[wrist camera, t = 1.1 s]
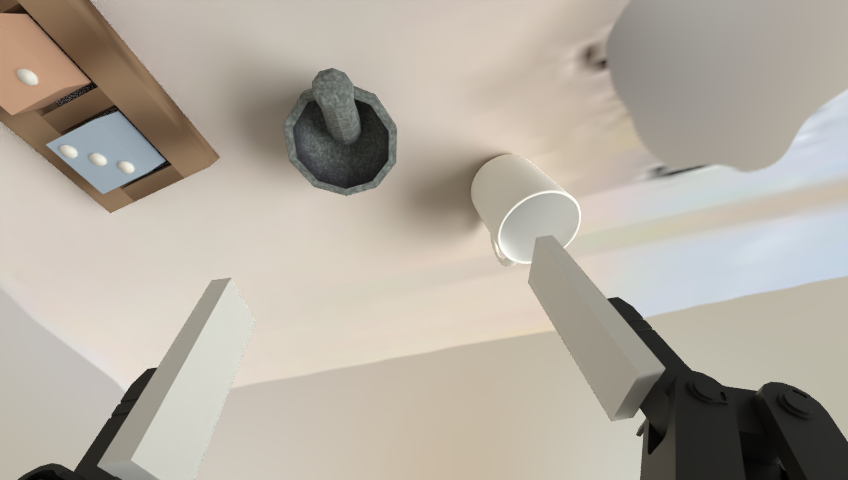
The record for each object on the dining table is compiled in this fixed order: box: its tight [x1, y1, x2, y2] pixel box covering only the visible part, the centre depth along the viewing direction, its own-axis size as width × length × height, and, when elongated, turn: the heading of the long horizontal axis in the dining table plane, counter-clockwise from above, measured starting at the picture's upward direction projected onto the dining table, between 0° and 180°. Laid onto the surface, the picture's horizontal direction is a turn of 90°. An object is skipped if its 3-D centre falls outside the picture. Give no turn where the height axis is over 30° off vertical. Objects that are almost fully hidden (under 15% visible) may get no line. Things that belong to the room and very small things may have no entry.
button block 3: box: [46, 111, 166, 194], centre depth 28 cm, size 5×5×3 cm
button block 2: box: [0, 13, 91, 115], centre depth 24 cm, size 5×5×3 cm
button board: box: [0, 0, 220, 213], centre depth 26 cm, size 24×12×2 cm, turn 22°
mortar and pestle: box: [283, 68, 397, 196], centre depth 28 cm, size 11×9×12 cm
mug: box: [471, 154, 581, 267], centre depth 36 cm, size 9×12×11 cm
